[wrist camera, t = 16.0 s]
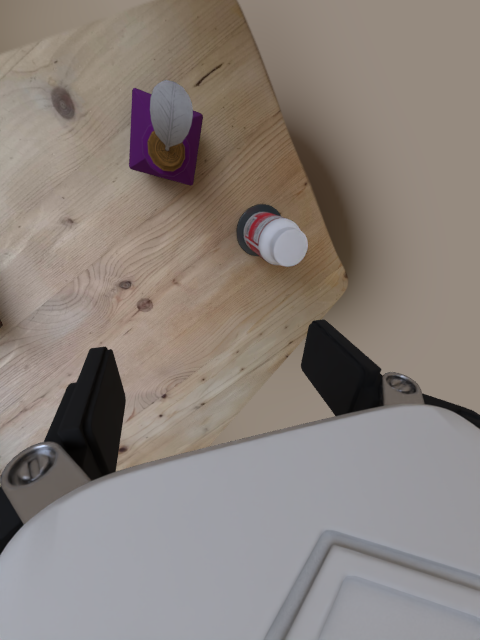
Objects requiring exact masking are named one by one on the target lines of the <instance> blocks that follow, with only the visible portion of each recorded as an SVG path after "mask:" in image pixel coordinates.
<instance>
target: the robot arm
mask: <svg viewBox="0 0 480 640" xmlns="http://www.w3.org/2000/svg"><path fill="white" fill-rule="evenodd" d="M301 368H302V371H303V372H304V373H305V375H306V376H307V377H308V379H309V380H310V382H311V383H312V384H313V386H314V387H315V388H316V390H317V391H318V393H319V394H320V395H321V397H322V398H323V399H324V401H325V402H326V403H327V405H328V406H329V408H330V409H331V410H332V412H333V413H334V414H335V417H331V418H327V419H322V420H318V421H314V422H309V423H305V424H301V425H297V426H293V427H288V428H284V429H280V430H276V431H272V432H268V433H263V434H259V435H255V436H251V437H247V438H243V439H239V440H235V441H230V442H227V443H222V444H218V445H214V446H210V447H206V448H202V449H198V450H194V451H190V452H186V453H182V454H178V455H174V456H170V457H166V458H163V459H159V460H155V461H151V462H147V463H144V464H140V465H136V466H133V467H130V468H126V469H123V470H120V471H117V472H115V471H116V464H117V458H118V451H119V444H120V437H121V430H122V423H123V416H124V409H125V402H126V399H125V393H124V389H123V386H122V382H121V379H120V375H119V372H118V368H117V365H116V361H115V357H114V354H113V351H112V350H111V349H110V350H108V349H107V347H99V348H91V349H90V350H89V353H88V355H87V358H86V360H85V363H84V365H83V368H82V370H81V373H80V376H79V378H78V381H77V382H76V383H71V384H69V385H68V387H67V389H66V391H65V394H64V396H63V398H62V401H61V403H60V405H59V408H58V410H57V412H56V415H55V417H54V419H53V422H52V424H51V426H50V429H49V431H48V433H47V436H46V438H45V440H44V442H41V443H38V444H35V445H33V446H30V447H29V448H27V449H25V450H23V451H22V452H20V453H19V454H18V455H16V456H15V457H14V458H13V459H12V460H11V461H10V462H9V463H8V464H7V466H6V467H5V469H4V471H3V472H2V475H1V479H0V483H1V487H0V640H480V415H479V414H477V413H476V412H474V411H472V410H469V409H467V408H464V407H461V406H458V405H455V404H452V403H449V402H446V401H443V400H440V399H437V398H434V397H431V396H428V395H425V394H422V392H421V389H420V387H419V385H418V384H417V383H416V382H415V381H414V380H412V379H411V378H409V377H407V376H405V375H402V374H399V373H395V372H389V373H385V374H384V375H383V376H382V375H381V374H380V371H381V368H380V367H378V366H377V365H376V364H375V363H374V362H373V361H372V360H370V359H369V358H368V357H367V356H365V354H364V353H362V352H361V351H360V350H359V349H358V348H357V347H355V346H354V345H353V344H352V343H351V342H350V341H349V340H347V339H346V338H345V337H344V336H343V335H342V334H341V333H339V332H338V331H337V330H336V329H335V328H334V327H333V326H332V325H330V324H329V323H328V322H327V321H326V320H316V321H313V322H312V323H311V324H310V325H309V328H308V333H307V338H306V343H305V348H304V353H303V358H302V363H301Z"/></svg>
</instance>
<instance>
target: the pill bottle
mask: <svg viewBox="0 0 480 640" xmlns="http://www.w3.org/2000/svg"><path fill="white" fill-rule="evenodd" d="M244 240H245V242H246V244H247V246H248V247H249V248H250V249H251V250H253V251H254V252H255V253H257V254H258V255H259V256H260V257H262V258H263V259H264V260H265V261H267V262H268V263H270V264H273V265H282V266H285V267H290V266H294V265H296V264H298V263H299V262H300V261H301V260H302V259H303V258H304V256H305V255H306V252H307V249H308V241H307V238H306V236H305V234H304V233H303V232H302V231H301V230H300V228H299V227H298V225H297V224H296V223H295V222H293V221H292V220H289V219H287V218H284V217H281V216H278V215H275V214H272V213H268V212H258V213H256V214H254V215H253V216H251V217H250V218H249V219H248V221H247V222H246V224H245V227H244Z"/></svg>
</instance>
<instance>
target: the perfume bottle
mask: <svg viewBox="0 0 480 640" xmlns="http://www.w3.org/2000/svg"><path fill="white" fill-rule="evenodd" d="M202 119H203V115H202V114H201V113H198V112H196V111H193V109H192V102H191V100H190V97H189V95H188V94H187V93H186V91H185V90H184V88H183V87H182V86H180V85H179V84H177V83H175V82H173V81H168V80H164V81H162V82H160V83H158V84H157V85H156V86H155V87H154V89H153V92H152V94H149V93H147V92H144V91H141V90H139V89H136V88H133V90H132V112H131V136H130V159H129V167H130V168H131V169H133V170H136V171H140V172H144V173H147V174H151V175H154V176H158V177H162V178H165V179H169V180H172V181H176V182H180V183H183V184H187V185H193V181H194V175H195V168H196V161H197V154H198V147H199V140H200V133H201V126H202Z"/></svg>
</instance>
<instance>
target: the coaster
mask: <svg viewBox="0 0 480 640" xmlns="http://www.w3.org/2000/svg"><path fill="white" fill-rule="evenodd" d="M258 212H268V213H272V214H275V215H278V216H281V215H280V214H279V212H278V211H277V210H276V209H275V208H273V207H272V206H269V205H265V204H259V205H255V206H252V207H250V208H249V209H247V210H246V211H245V212H244V213H243V215H242V216H241V218H240V220H239V222H238V225H237V231H236V232H237V240H238V243H239V245H240V246H241V248H242V249H243V250H244V251H245V252H246V253H248V254H250V255H253V256H259V255H258V254H257V253H255V252H254V251H253V250H251V249H250V248H249V247H248V246H247V244H246V242H245V240H244V227H245V224H246V222H247V221H248V219H249V218H250V217H251V216H253V215H254V214H256V213H258Z"/></svg>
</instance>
